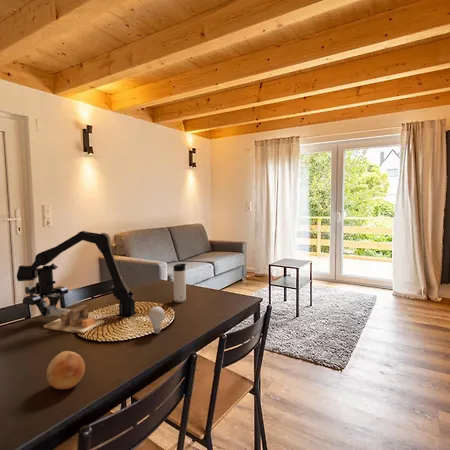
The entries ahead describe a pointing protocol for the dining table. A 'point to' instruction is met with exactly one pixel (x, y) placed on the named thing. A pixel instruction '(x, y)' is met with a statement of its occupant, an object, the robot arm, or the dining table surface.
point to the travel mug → (179, 283)
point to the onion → (65, 370)
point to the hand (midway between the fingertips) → (47, 314)
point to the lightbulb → (156, 318)
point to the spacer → (88, 322)
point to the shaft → (55, 311)
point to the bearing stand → (73, 321)
